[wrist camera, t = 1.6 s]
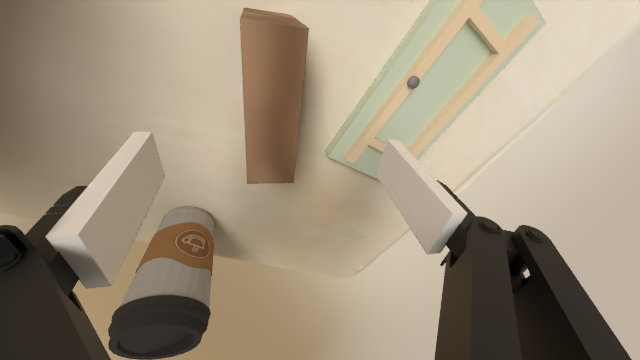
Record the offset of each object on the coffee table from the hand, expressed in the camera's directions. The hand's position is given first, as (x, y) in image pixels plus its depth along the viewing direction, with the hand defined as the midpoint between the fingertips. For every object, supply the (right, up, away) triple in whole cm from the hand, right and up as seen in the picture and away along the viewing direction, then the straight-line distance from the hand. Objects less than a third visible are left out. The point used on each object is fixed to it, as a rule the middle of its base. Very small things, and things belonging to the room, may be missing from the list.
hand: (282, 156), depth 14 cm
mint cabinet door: (+14, +9, +15) cm, 22 cm away
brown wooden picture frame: (-3, +9, +10) cm, 14 cm away
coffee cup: (-16, -7, +19) cm, 26 cm away
